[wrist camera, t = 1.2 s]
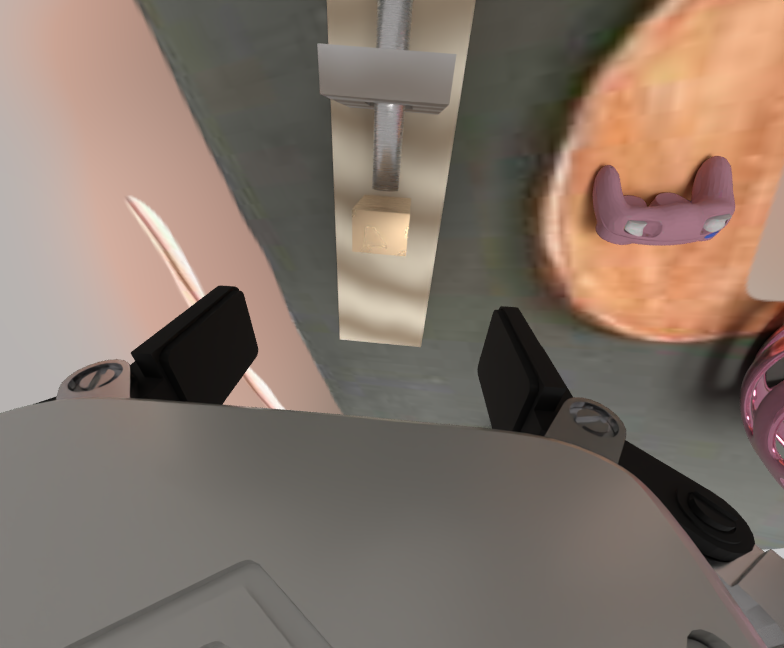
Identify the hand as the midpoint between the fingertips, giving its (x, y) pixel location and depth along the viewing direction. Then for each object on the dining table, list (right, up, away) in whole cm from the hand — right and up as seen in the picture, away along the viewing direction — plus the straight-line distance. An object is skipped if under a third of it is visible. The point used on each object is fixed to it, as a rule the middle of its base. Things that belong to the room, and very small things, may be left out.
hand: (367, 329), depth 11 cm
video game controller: (+24, +12, +15) cm, 31 cm away
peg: (+1, +15, +11) cm, 19 cm away
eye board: (+1, +12, +17) cm, 21 cm away
